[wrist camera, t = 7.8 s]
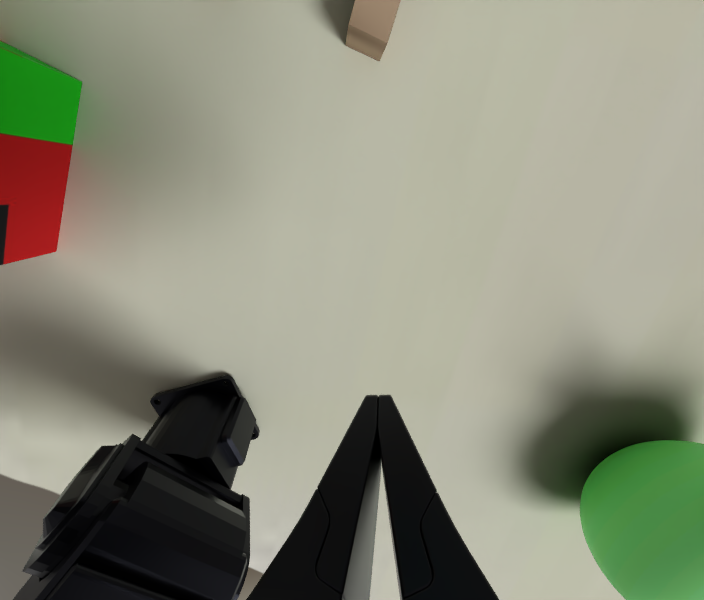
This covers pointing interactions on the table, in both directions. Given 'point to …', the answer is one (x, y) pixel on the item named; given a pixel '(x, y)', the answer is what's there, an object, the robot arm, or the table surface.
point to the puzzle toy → (33, 152)
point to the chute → (371, 26)
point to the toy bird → (648, 520)
